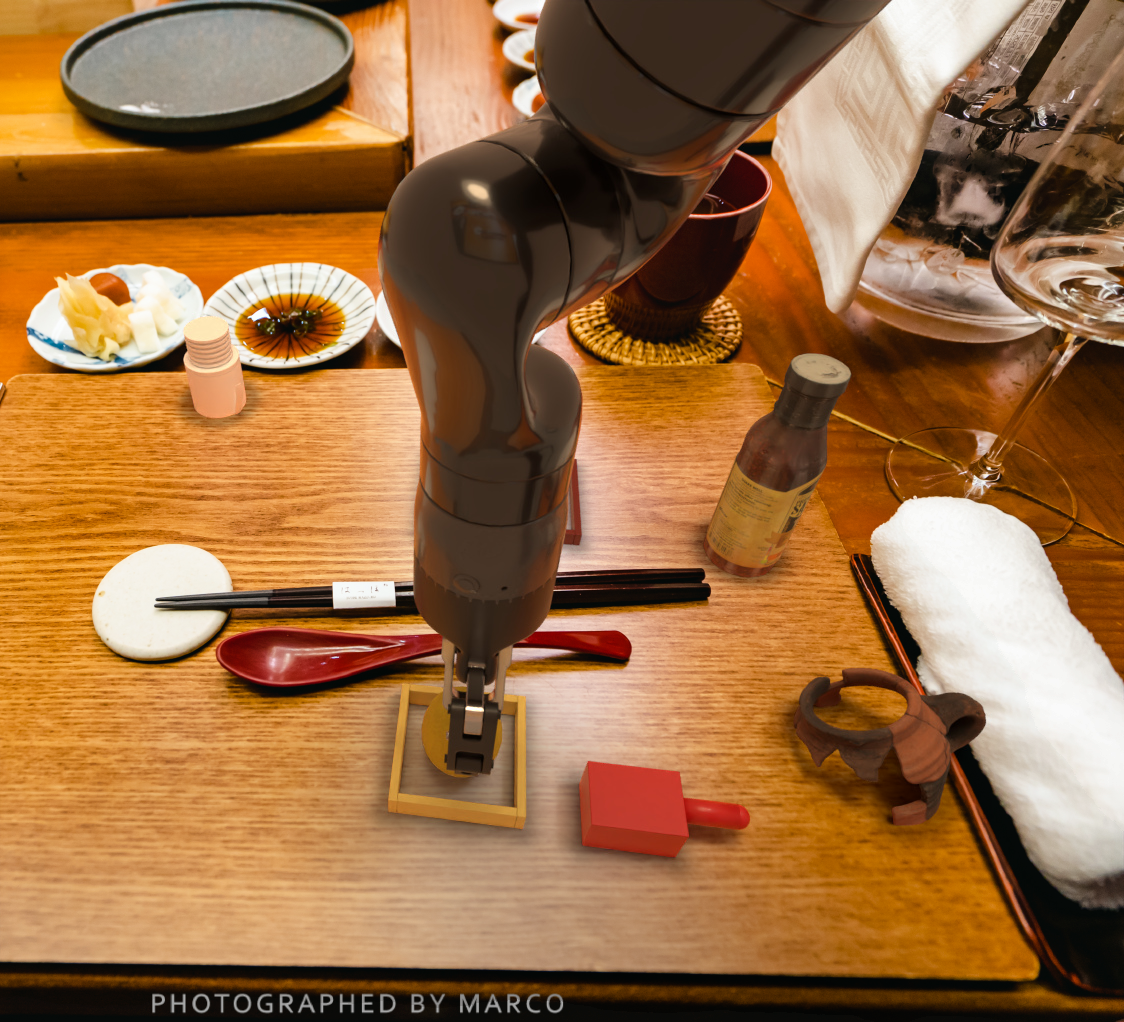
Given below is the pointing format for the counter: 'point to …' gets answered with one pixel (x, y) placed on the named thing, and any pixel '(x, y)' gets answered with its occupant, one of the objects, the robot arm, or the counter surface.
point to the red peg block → (645, 810)
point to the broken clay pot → (894, 735)
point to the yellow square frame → (456, 808)
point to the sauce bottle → (776, 470)
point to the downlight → (213, 368)
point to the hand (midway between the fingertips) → (469, 706)
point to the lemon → (444, 733)
